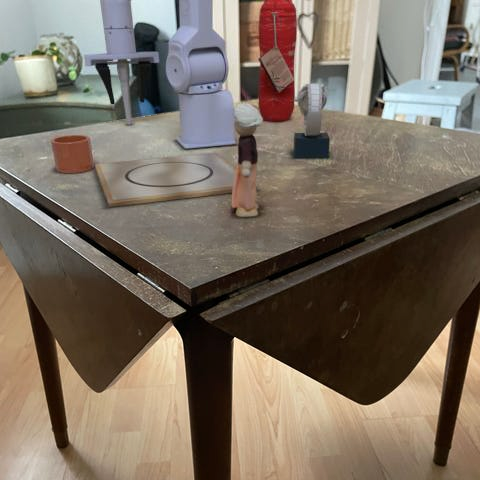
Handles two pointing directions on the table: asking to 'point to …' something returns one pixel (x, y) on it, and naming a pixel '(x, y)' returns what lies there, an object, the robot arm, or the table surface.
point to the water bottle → (277, 59)
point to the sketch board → (165, 178)
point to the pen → (125, 86)
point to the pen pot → (72, 153)
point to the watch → (311, 123)
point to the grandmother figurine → (246, 161)
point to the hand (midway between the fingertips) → (127, 102)
